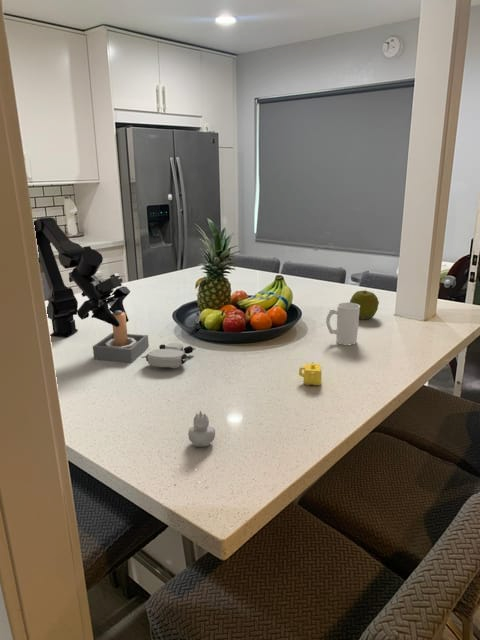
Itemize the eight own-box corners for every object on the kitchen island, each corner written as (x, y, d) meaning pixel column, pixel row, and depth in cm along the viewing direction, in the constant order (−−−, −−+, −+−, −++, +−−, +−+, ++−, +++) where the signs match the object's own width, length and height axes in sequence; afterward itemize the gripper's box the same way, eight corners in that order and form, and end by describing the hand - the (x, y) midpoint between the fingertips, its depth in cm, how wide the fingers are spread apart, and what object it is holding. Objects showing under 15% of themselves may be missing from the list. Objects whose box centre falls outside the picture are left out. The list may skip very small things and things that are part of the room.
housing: (94, 359, 141) (92, 346, 140) (113, 344, 152) (112, 332, 151) (132, 362, 138) (130, 349, 137) (148, 347, 150) (147, 335, 148)
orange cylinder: (112, 345, 143) (108, 312, 140) (118, 341, 147) (115, 308, 143) (124, 347, 142) (121, 313, 139) (130, 342, 146) (127, 309, 143)
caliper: (199, 331, 164) (198, 313, 162) (196, 331, 164) (195, 313, 162) (209, 313, 183) (209, 297, 181) (206, 313, 183) (206, 297, 181)
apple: (346, 320, 173) (348, 290, 169) (351, 312, 181) (353, 284, 178) (375, 323, 169) (378, 293, 166) (378, 315, 178) (381, 286, 174)
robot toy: (159, 354, 147) (140, 371, 133) (158, 339, 146) (139, 355, 132) (198, 356, 145) (183, 374, 131) (197, 342, 144) (182, 358, 129)
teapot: (299, 375, 130) (299, 357, 128) (320, 376, 129) (321, 358, 127) (298, 388, 122) (298, 369, 121) (321, 389, 121) (322, 371, 120)
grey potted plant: (186, 451, 96) (185, 416, 94) (191, 433, 102) (189, 400, 100) (213, 452, 96) (212, 416, 93) (216, 434, 102) (215, 400, 100)
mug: (354, 338, 156) (357, 302, 152) (359, 345, 149) (362, 308, 146) (323, 338, 156) (325, 302, 152) (326, 345, 150) (328, 308, 146)
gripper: (80, 273, 130) (118, 316, 130) (122, 260, 147) (155, 298, 146) (61, 298, 136) (97, 340, 135) (103, 283, 152) (135, 320, 151)
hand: (123, 323), depth 142 cm, fingers closed on orange cylinder, 4 cm apart
